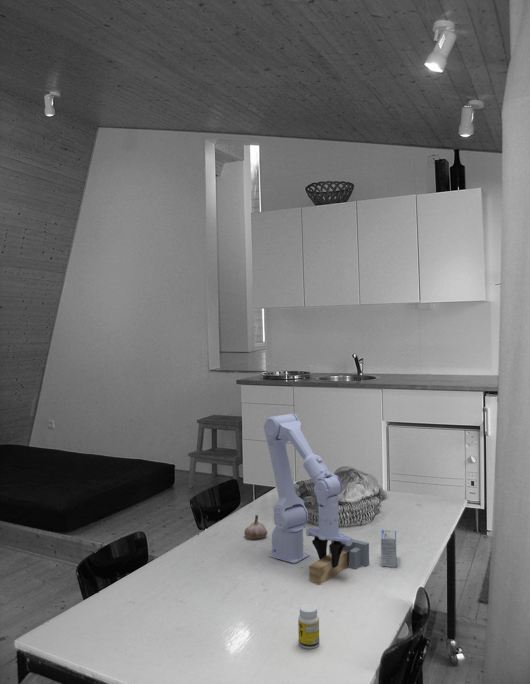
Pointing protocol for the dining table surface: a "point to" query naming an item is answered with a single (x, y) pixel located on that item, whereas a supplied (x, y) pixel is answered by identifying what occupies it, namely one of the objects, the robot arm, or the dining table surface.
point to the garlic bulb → (255, 530)
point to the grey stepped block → (357, 553)
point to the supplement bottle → (308, 626)
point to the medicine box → (388, 548)
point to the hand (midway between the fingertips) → (329, 564)
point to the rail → (327, 568)
